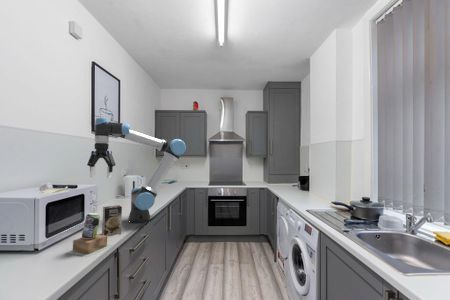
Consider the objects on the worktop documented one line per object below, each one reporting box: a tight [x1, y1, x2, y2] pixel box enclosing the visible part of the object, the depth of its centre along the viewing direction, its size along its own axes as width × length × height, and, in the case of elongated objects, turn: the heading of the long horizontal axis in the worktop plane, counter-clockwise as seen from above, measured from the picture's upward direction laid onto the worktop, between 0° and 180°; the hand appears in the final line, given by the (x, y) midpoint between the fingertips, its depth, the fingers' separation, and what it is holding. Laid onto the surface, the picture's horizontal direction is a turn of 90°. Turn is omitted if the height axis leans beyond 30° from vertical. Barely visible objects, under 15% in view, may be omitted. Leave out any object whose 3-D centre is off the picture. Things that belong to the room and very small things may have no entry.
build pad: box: [65, 243, 114, 258], centre depth 105 cm, size 14×14×1 cm
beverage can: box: [81, 212, 101, 239], centre depth 105 cm, size 6×7×12 cm
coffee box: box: [101, 204, 123, 237], centre depth 127 cm, size 9×6×16 cm
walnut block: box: [72, 233, 108, 254], centre depth 105 cm, size 10×10×5 cm
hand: (100, 177), depth 133 cm, fingers open, 13 cm apart
